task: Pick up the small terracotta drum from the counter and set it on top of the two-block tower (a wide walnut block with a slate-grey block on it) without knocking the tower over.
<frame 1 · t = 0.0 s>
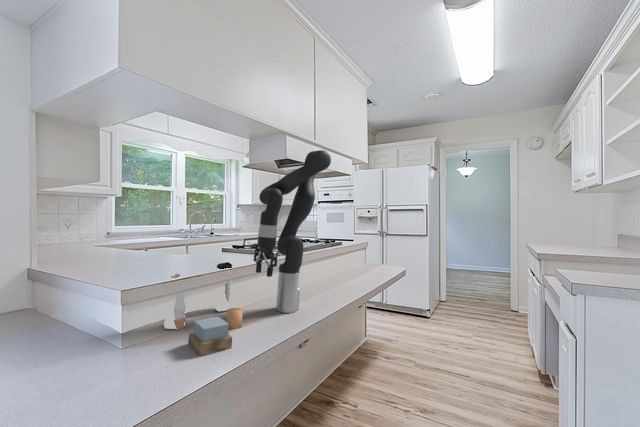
hand: (263, 274, 132), 17 cm above the counter, tool pointing down, fingers open, 8 cm apart
terracotta drum: (234, 326, 119), on the counter
slate top block: (210, 334, 102), point 4 cm above the counter
walnut base block: (209, 347, 102), on the counter
travel mug: (221, 310, 136), on the counter
salt shaker: (174, 326, 115), on the counter
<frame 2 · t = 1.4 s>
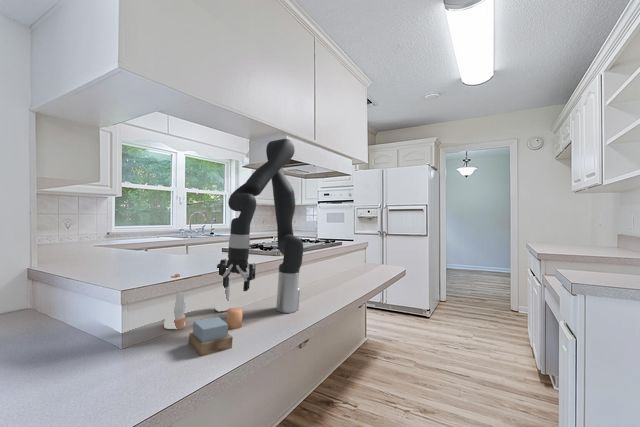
hand: (235, 289, 119), 14 cm above the counter, tool pointing down, fingers open, 8 cm apart
slate top block: (210, 335, 101), point 4 cm above the counter, touching walnut base block
walnut base block: (210, 347, 102), on the counter, touching slate top block
everything else where it was.
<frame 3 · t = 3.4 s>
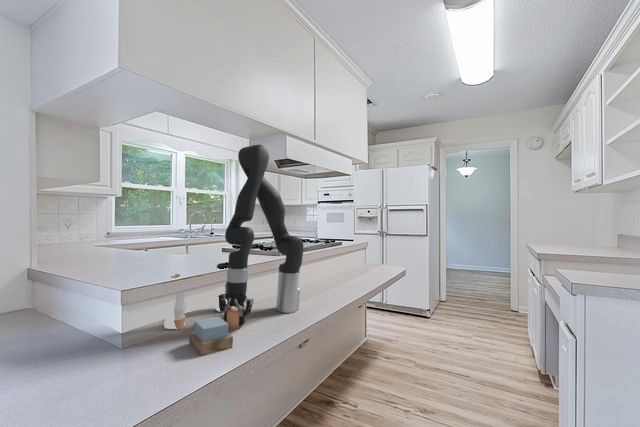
hand: (234, 323, 119), 1 cm above the counter, tool pointing down, fingers closed on terracotta drum, 5 cm apart
terracotta drum: (233, 326, 119), on the counter, touching gripper
everything else where it was.
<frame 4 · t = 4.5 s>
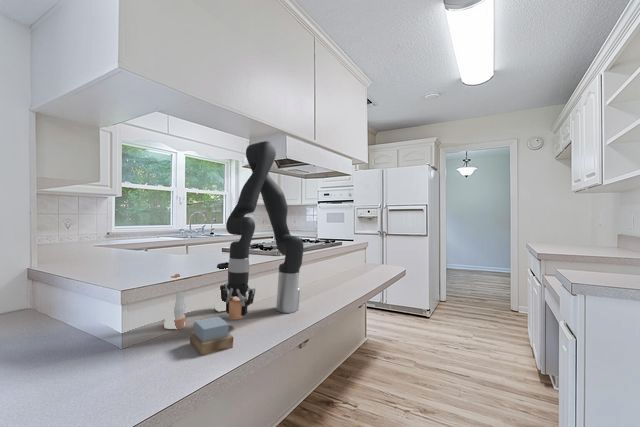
hand: (236, 313, 119), 5 cm above the counter, tool pointing down, fingers closed on terracotta drum, 5 cm apart
terracotta drum: (236, 316, 119), point 4 cm above the counter, touching gripper
slate top block: (210, 335, 102), point 3 cm above the counter
walnut base block: (211, 347, 102), on the counter
everything else where it was.
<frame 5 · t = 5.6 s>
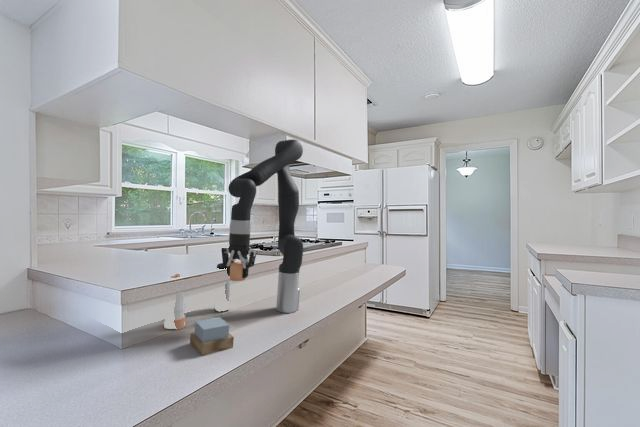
hand: (237, 276, 119), 19 cm above the counter, tool pointing down, fingers closed on terracotta drum, 5 cm apart
terracotta drum: (237, 279, 119), point 18 cm above the counter, touching gripper
slate top block: (211, 335, 101), point 3 cm above the counter, touching walnut base block
walnut base block: (211, 347, 102), on the counter, touching slate top block
everything else where it was.
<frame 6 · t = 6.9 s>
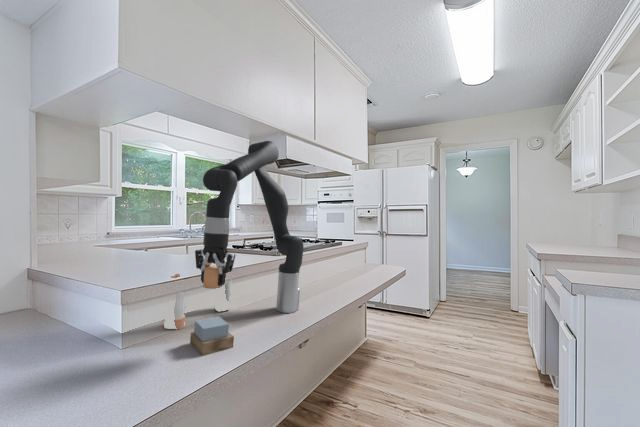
hand: (212, 283, 102), 20 cm above the counter, tool pointing down, fingers closed on terracotta drum, 5 cm apart
terracotta drum: (212, 286, 102), point 19 cm above the counter, touching gripper
everything else where it was.
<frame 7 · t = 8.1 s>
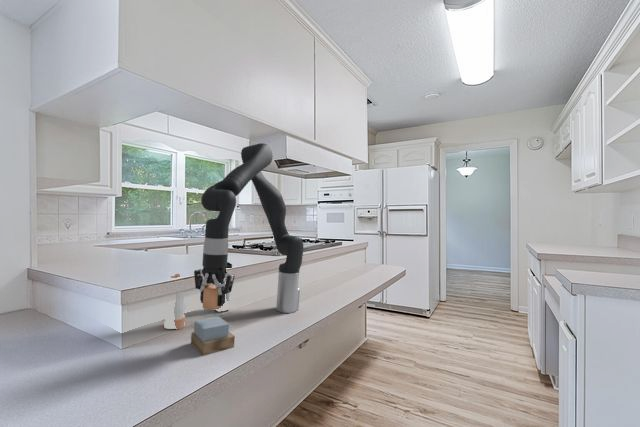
hand: (212, 304, 101), 14 cm above the counter, tool pointing down, fingers closed on terracotta drum, 5 cm apart
terracotta drum: (211, 306, 101), point 13 cm above the counter, touching gripper
slate top block: (210, 334, 102), point 4 cm above the counter
walnut base block: (212, 346, 102), on the counter
everything else where it was.
when the fingers open (10 cm above the counter, at t = 9.6 s): terracotta drum drops 2 cm, resting on slate top block.
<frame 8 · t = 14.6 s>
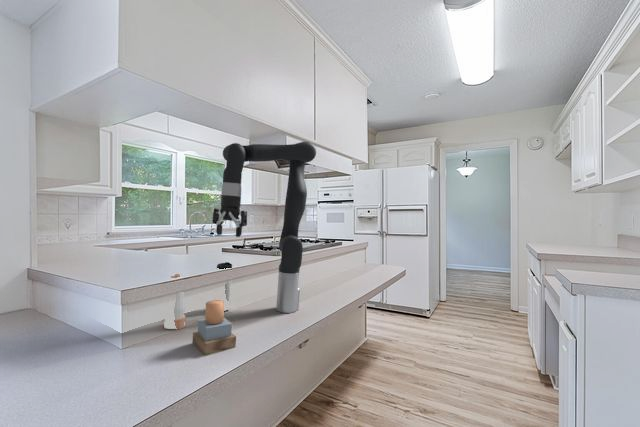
hand: (228, 235, 125), 33 cm above the counter, tool pointing down, fingers open, 8 cm apart
terracotta drum: (214, 321, 102), point 8 cm above the counter, touching slate top block
slate top block: (214, 334, 102), point 4 cm above the counter, touching terracotta drum, walnut base block
walnut base block: (213, 346, 102), on the counter, touching slate top block
everything else where it was.
at the end: terracotta drum 0.1 cm off-centre on the slate top block, point 4.2 cm above the slate top block's base; slate top block 0.3 cm off-centre on the walnut base block, point 4.0 cm above the walnut base block's base; terracotta drum tilted 4° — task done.
